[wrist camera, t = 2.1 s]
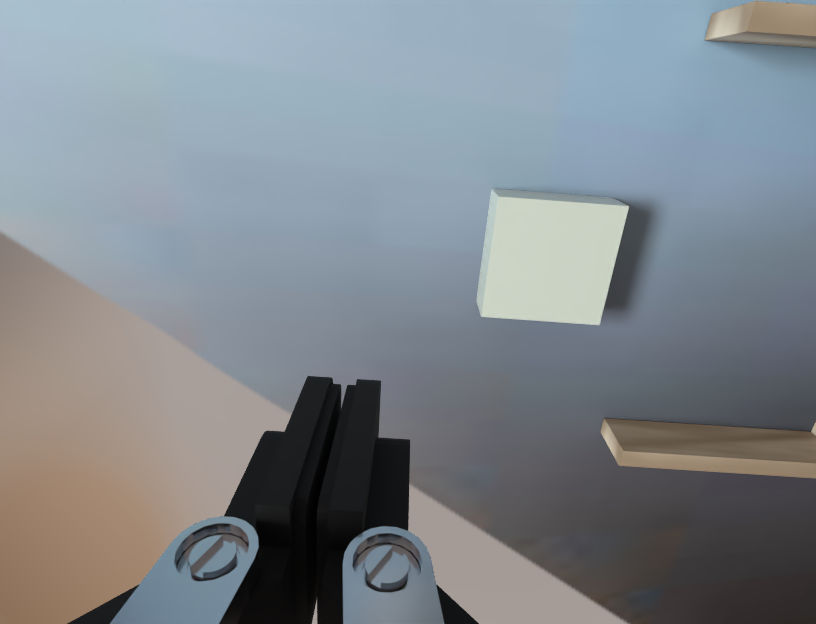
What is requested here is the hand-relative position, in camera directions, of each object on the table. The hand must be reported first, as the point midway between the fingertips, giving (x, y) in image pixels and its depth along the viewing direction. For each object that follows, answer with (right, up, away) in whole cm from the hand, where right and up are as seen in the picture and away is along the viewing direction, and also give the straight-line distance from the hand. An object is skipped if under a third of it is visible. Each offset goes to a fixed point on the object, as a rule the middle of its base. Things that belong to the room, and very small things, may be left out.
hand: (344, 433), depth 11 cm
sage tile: (+8, +6, +15) cm, 18 cm away
